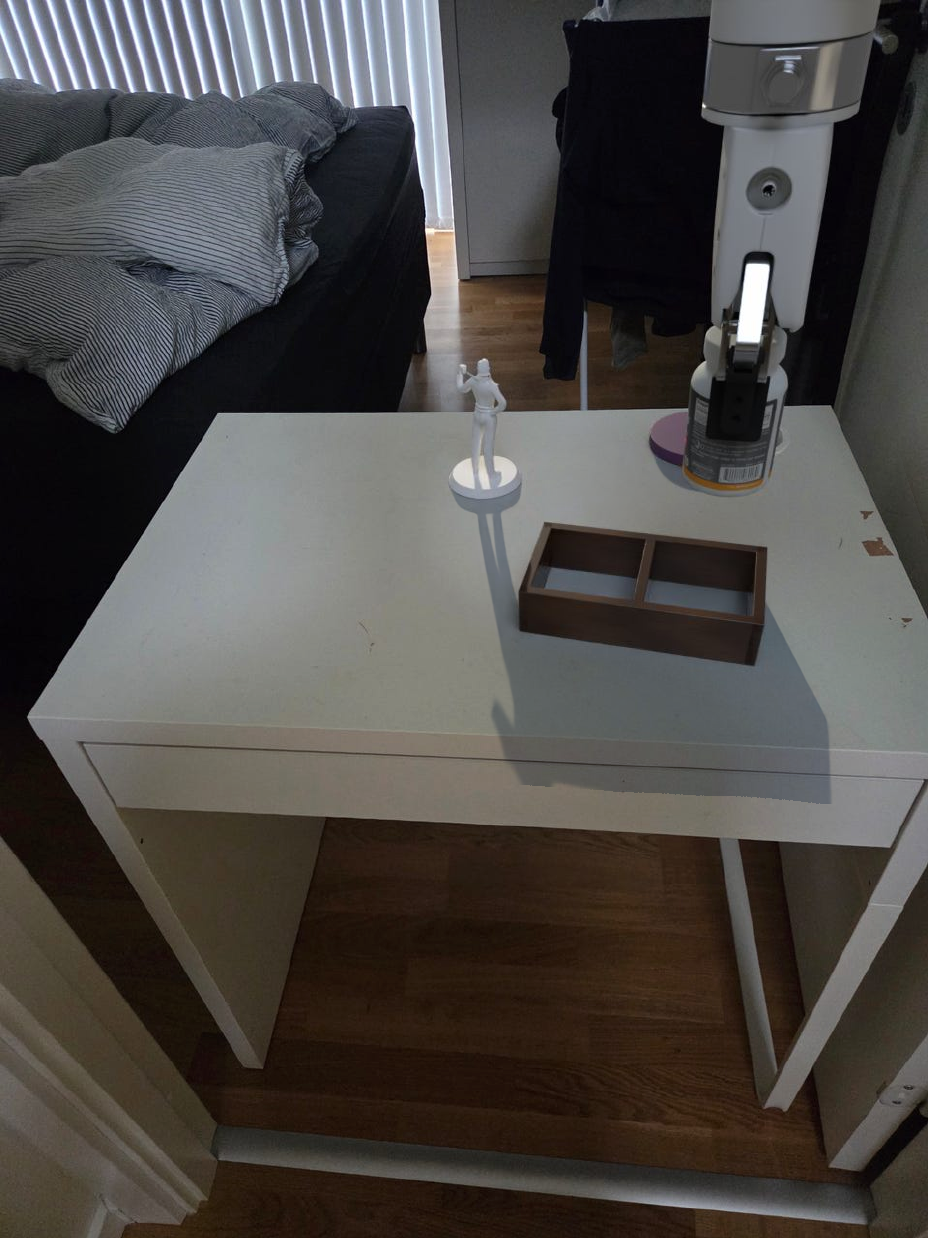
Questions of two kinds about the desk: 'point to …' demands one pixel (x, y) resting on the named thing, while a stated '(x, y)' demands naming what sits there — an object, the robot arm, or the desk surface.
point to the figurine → (485, 471)
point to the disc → (669, 437)
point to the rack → (646, 592)
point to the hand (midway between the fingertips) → (735, 410)
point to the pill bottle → (723, 461)
